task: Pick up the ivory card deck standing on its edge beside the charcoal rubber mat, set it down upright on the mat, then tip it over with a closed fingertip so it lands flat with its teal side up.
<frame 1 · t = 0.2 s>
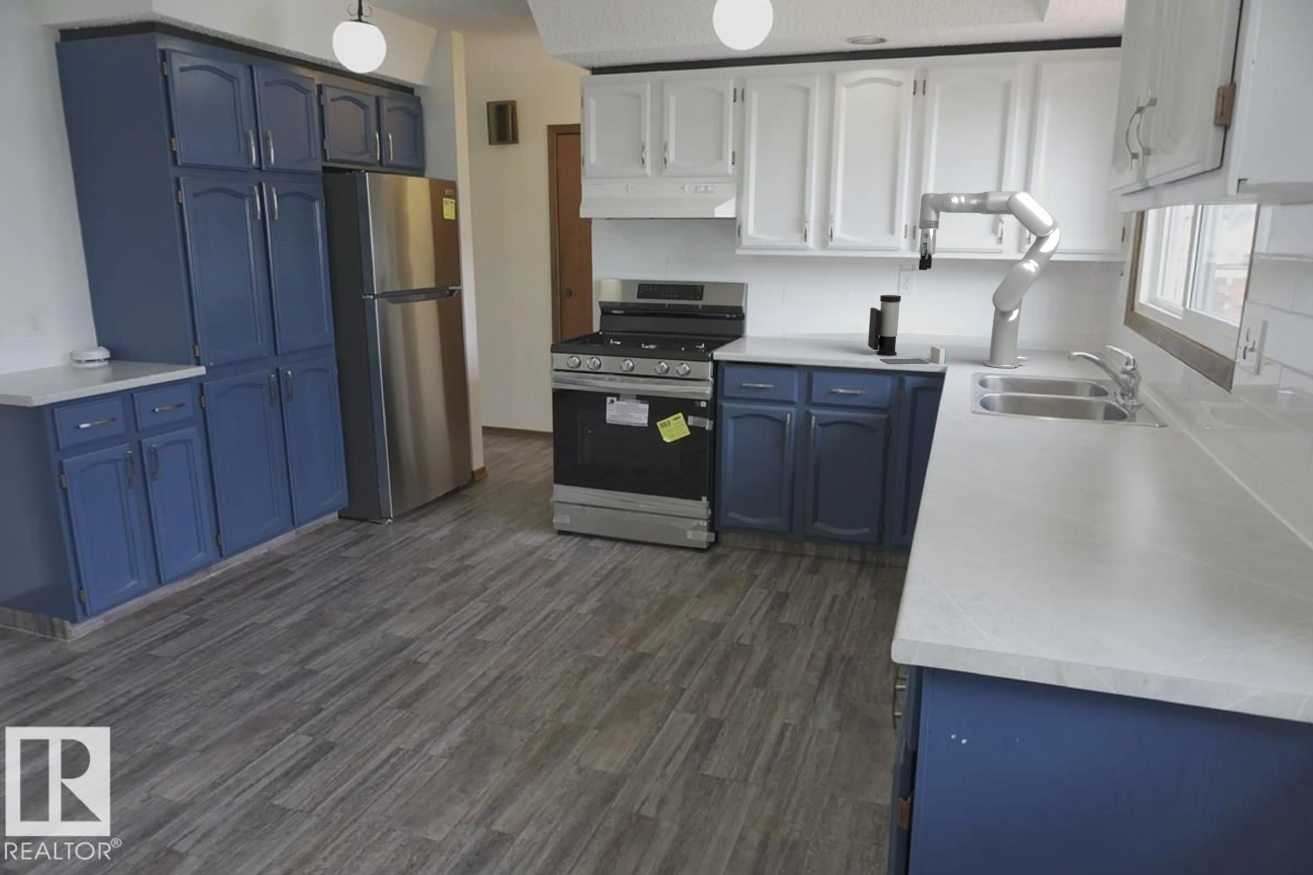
hand: (924, 269, 350), 36 cm above the worktop, tool pointing down, fingers open, 9 cm apart
light fixture: (883, 354, 371), on the worktop
mat: (904, 361, 353), on the worktop
deck: (937, 362, 352), on the worktop
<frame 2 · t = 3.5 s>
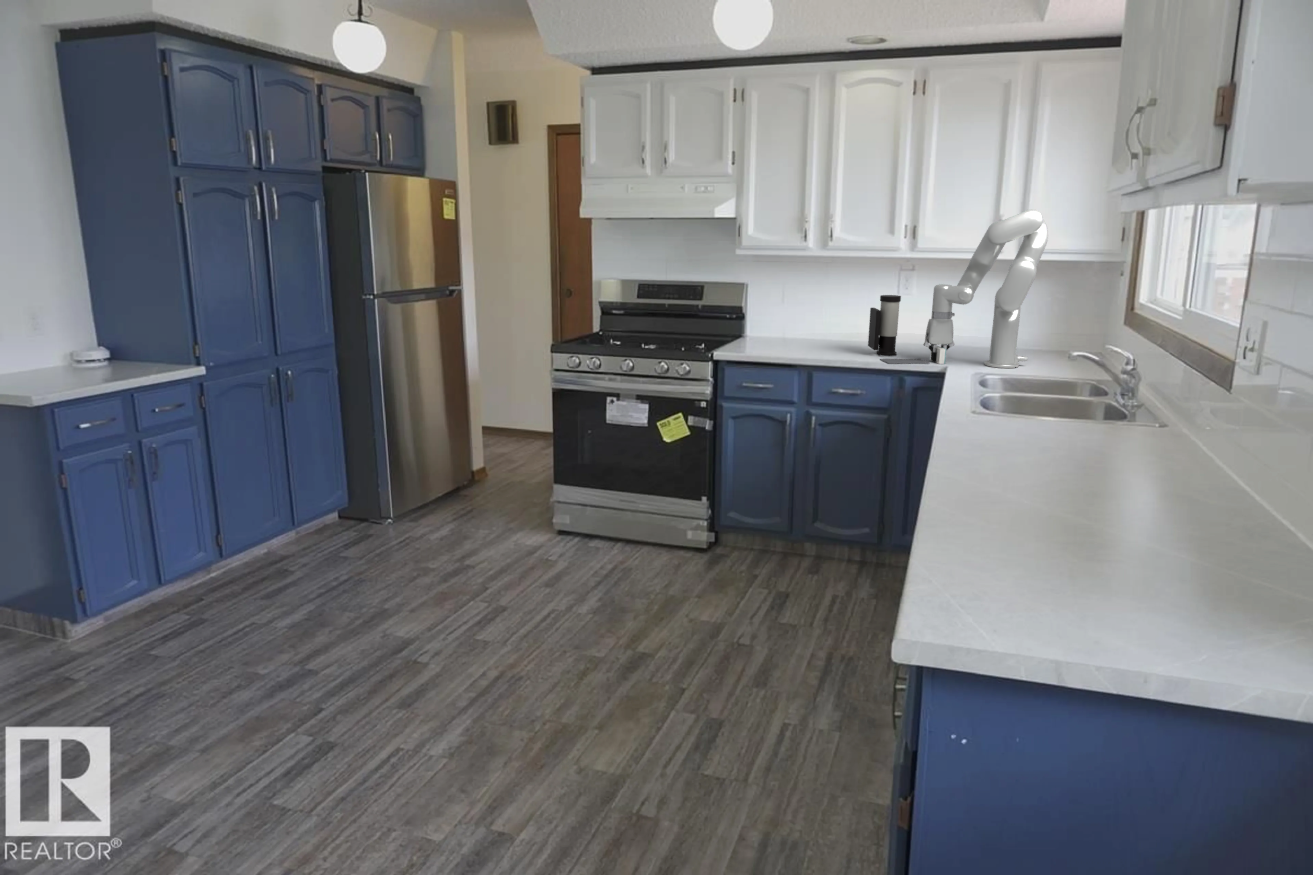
hand: (937, 361, 352), 0 cm above the worktop, tool pointing down, fingers closed on deck, 2 cm apart
deck: (937, 362, 352), on the worktop, touching gripper
everything else where it was.
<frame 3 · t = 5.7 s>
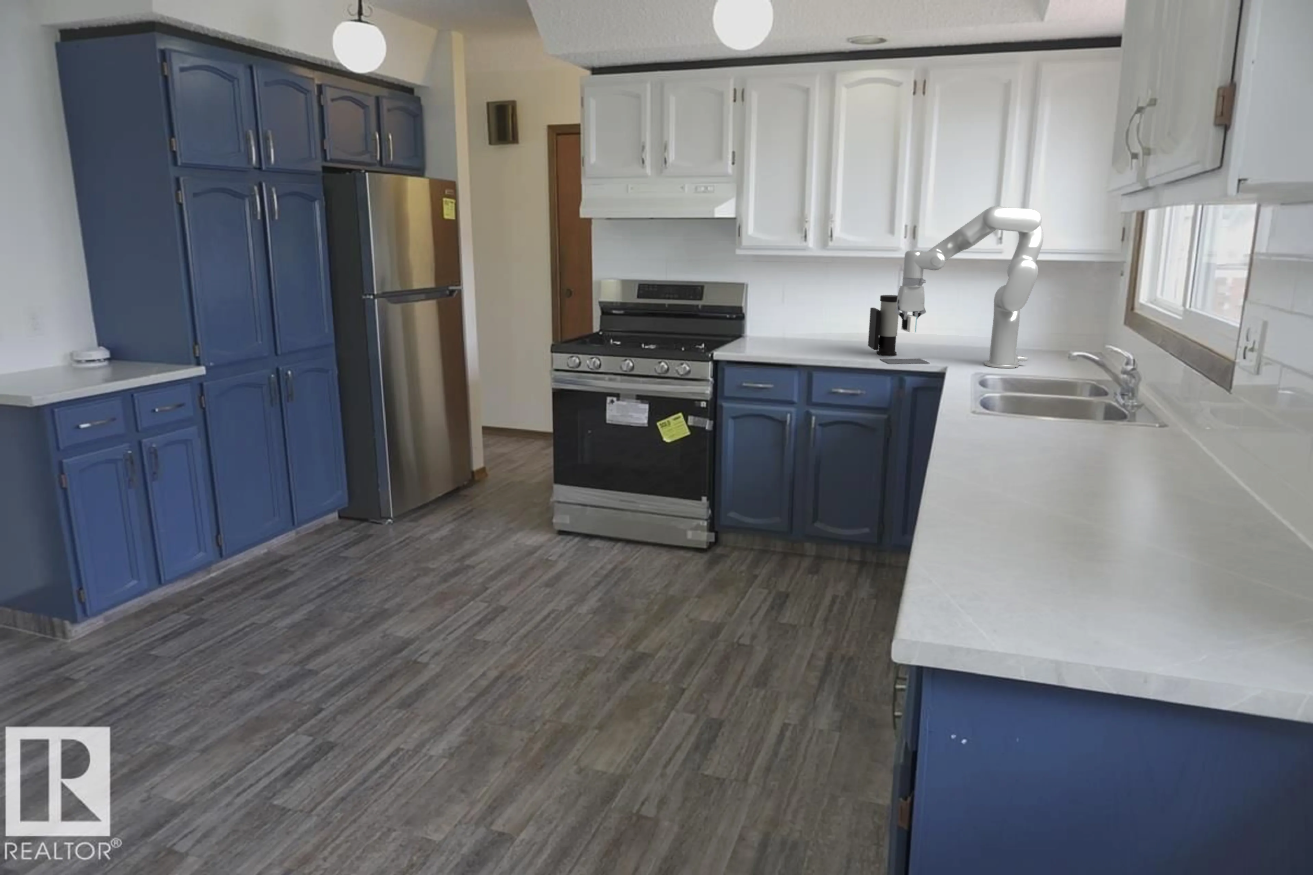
hand: (908, 329, 347), 14 cm above the worktop, tool pointing down, fingers closed on deck, 2 cm apart
deck: (908, 330, 348), point 13 cm above the worktop, touching gripper
everything else where it was.
when the fingers open (2 cm above the worktop, at t = 7.9 s): deck stays where it is, resting on mat.
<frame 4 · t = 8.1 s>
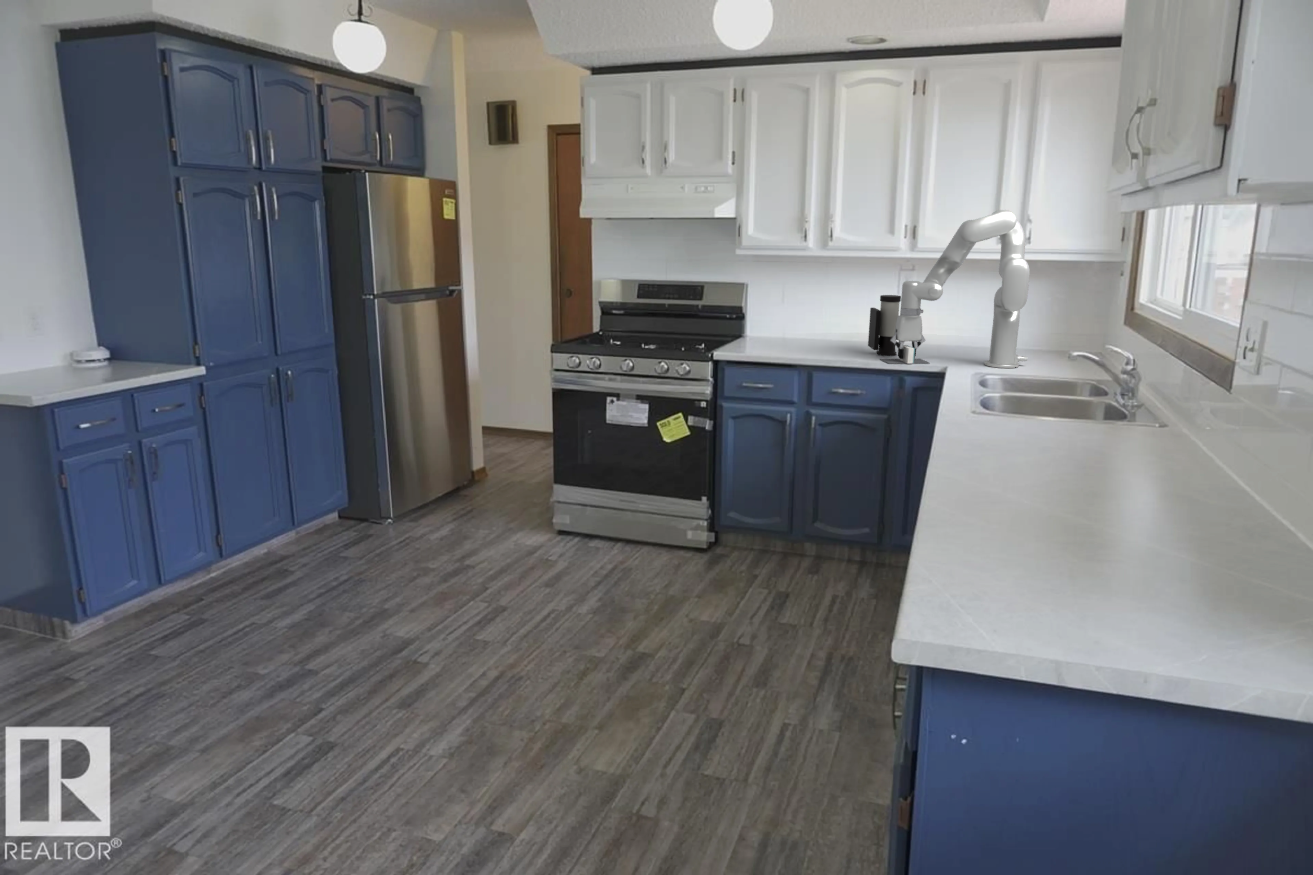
hand: (906, 357, 350), 2 cm above the worktop, tool pointing down, fingers open, 4 cm apart
deck: (906, 361, 351), resting on mat
everything else where it was.
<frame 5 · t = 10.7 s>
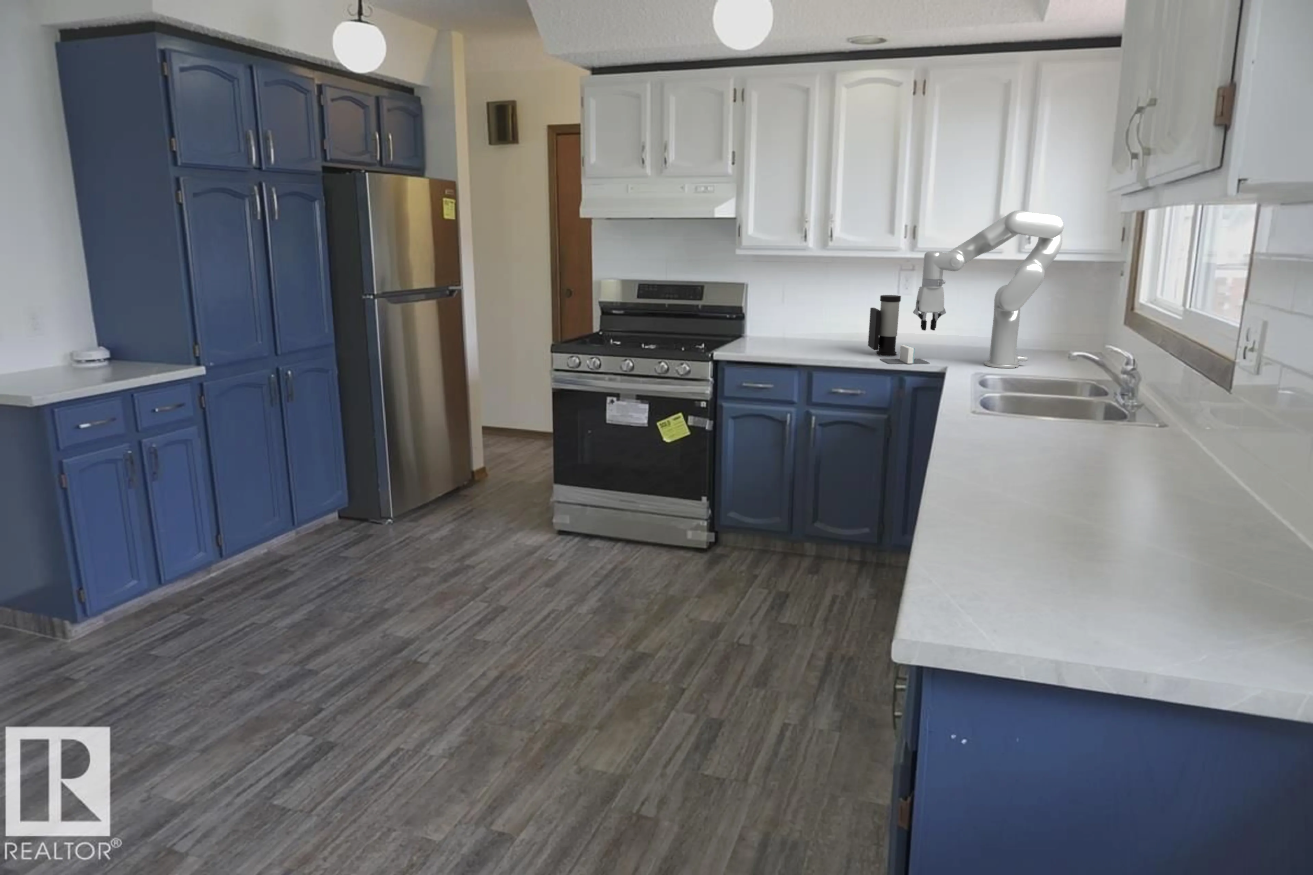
hand: (928, 329, 348), 13 cm above the worktop, tool pointing down, fingers open, 3 cm apart
nothing on the worktop moved.
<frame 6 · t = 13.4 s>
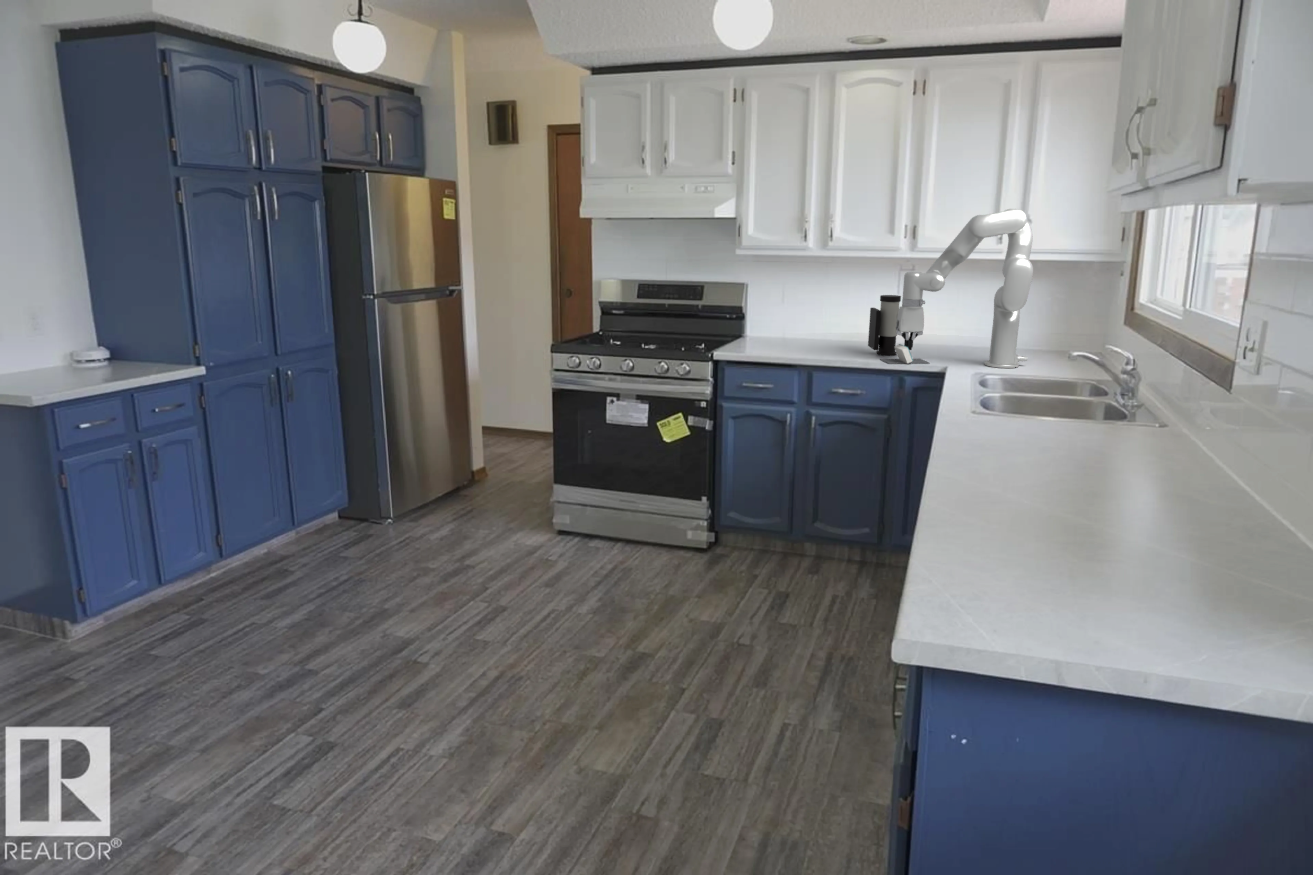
hand: (908, 349, 350), 5 cm above the worktop, tool pointing down, fingers closed
deck: (906, 360, 351), point 1 cm above the worktop, tilted 26°, touching mat
everything else where it was.
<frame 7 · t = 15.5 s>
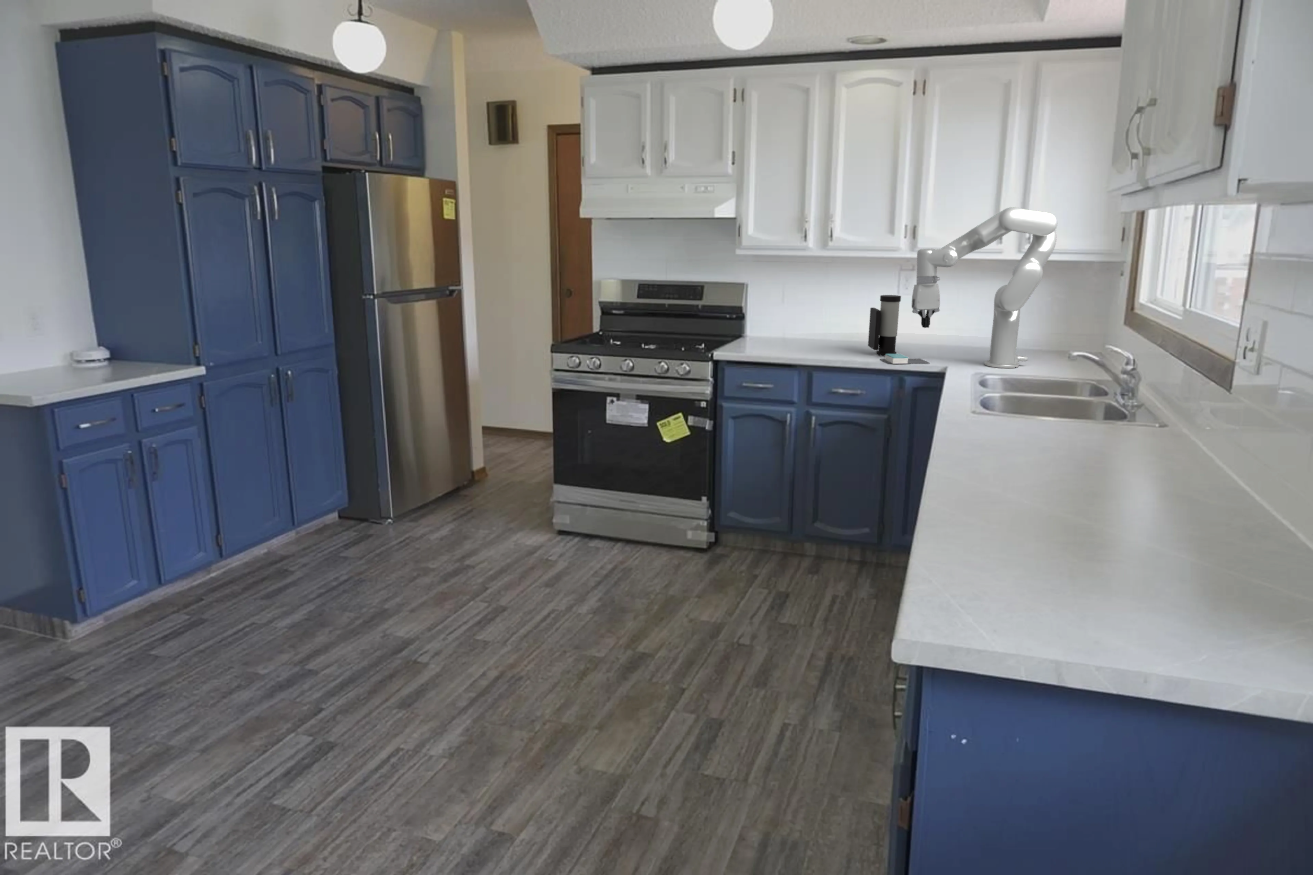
hand: (925, 327, 347), 14 cm above the worktop, tool pointing down, fingers closed
deck: (903, 358, 350), point 2 cm above the worktop, tilted 90°, touching mat
everything else where it was.
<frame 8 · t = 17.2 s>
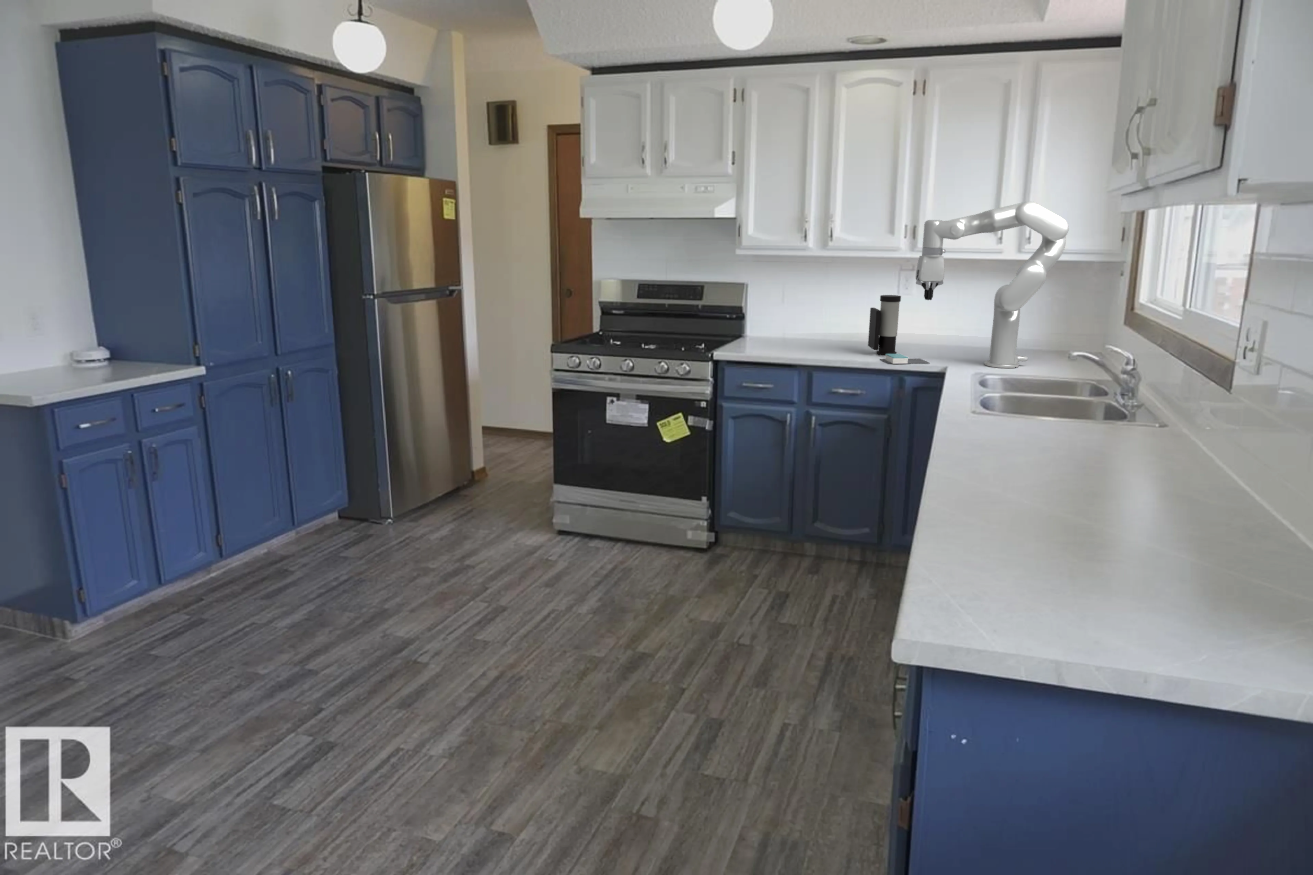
hand: (928, 299, 345), 25 cm above the worktop, tool pointing down, fingers closed
nothing on the worktop moved.
at the end: deck tilted 90°; deck inside the target area (1.0 cm from its centre), point 1.6 cm above the worktop; the gripper is holding nothing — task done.
